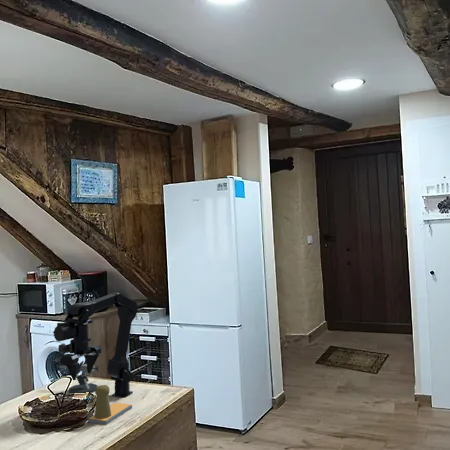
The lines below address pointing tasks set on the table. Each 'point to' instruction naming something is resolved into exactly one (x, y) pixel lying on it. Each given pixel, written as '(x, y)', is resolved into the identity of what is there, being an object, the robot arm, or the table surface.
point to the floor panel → (112, 413)
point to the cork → (102, 402)
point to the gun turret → (82, 380)
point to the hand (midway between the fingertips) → (81, 376)
